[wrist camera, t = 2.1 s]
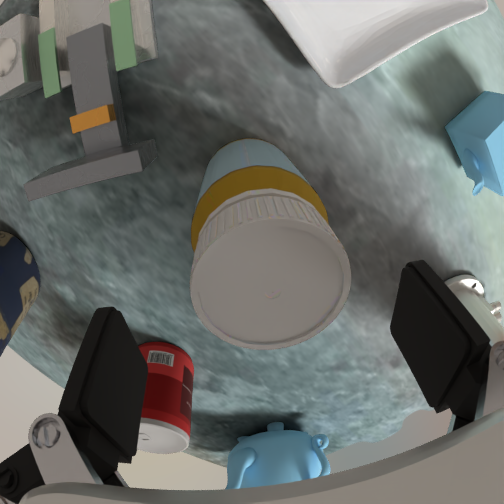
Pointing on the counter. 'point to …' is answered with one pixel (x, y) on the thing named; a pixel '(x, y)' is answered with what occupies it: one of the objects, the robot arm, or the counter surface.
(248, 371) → the counter surface
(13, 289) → the canister
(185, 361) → the canned food
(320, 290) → the bottle
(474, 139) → the teapot
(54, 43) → the gauge body
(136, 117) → the counter surface
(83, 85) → the grey t-shaped piece
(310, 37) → the salad plate
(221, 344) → the counter surface
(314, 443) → the teapot
